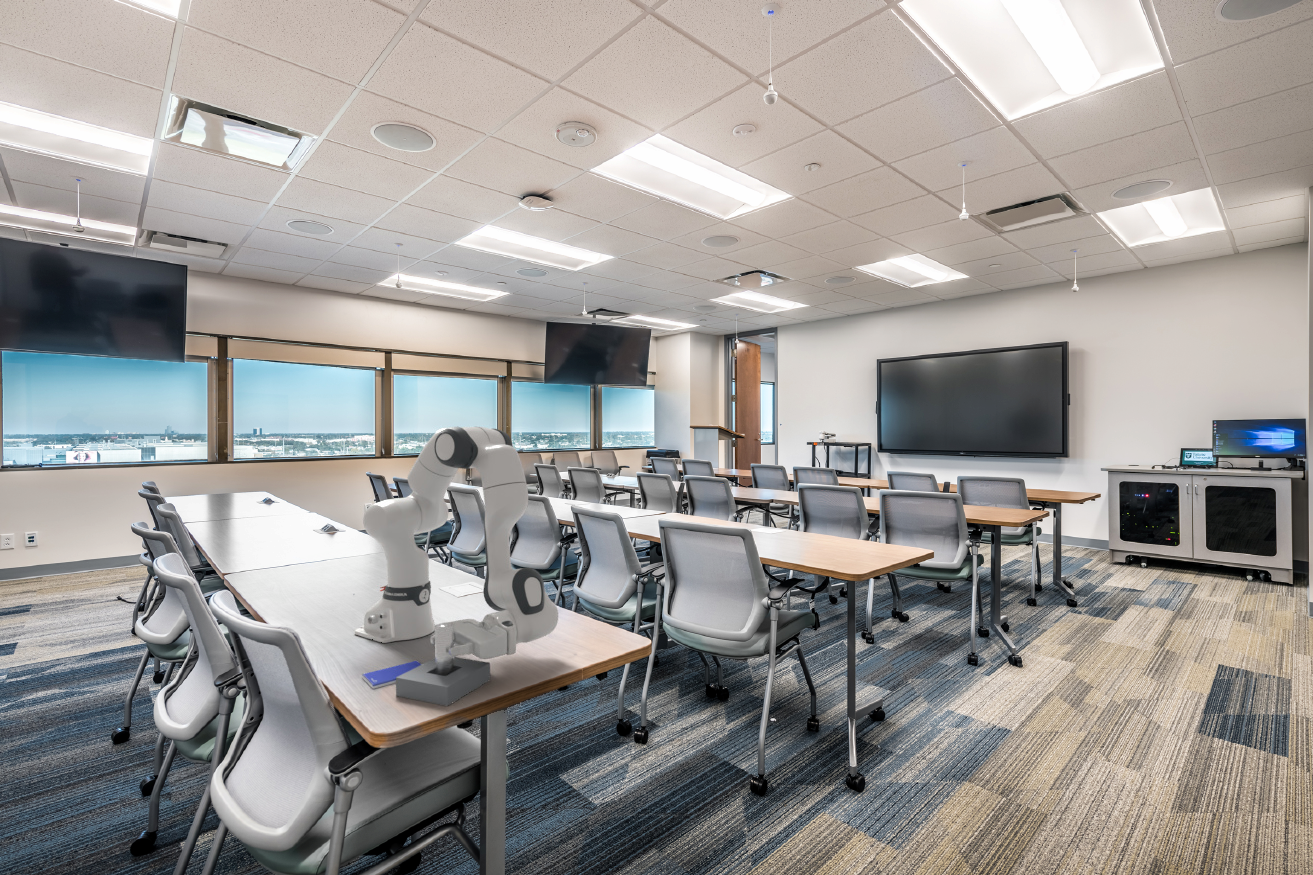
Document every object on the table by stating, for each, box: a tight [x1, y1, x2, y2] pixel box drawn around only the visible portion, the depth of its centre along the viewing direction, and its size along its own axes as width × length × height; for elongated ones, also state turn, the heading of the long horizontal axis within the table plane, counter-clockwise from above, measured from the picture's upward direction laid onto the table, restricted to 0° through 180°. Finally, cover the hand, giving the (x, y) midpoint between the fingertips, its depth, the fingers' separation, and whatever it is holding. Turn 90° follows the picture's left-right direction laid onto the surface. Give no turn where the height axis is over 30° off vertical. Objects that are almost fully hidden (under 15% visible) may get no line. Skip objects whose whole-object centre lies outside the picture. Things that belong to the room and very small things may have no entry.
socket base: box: [395, 656, 491, 707], centre depth 130 cm, size 14×14×4 cm
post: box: [434, 621, 455, 676], centre depth 130 cm, size 4×4×14 cm
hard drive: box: [361, 660, 423, 690], centre depth 137 cm, size 2×8×12 cm
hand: (440, 646), depth 130 cm, fingers open, 8 cm apart
